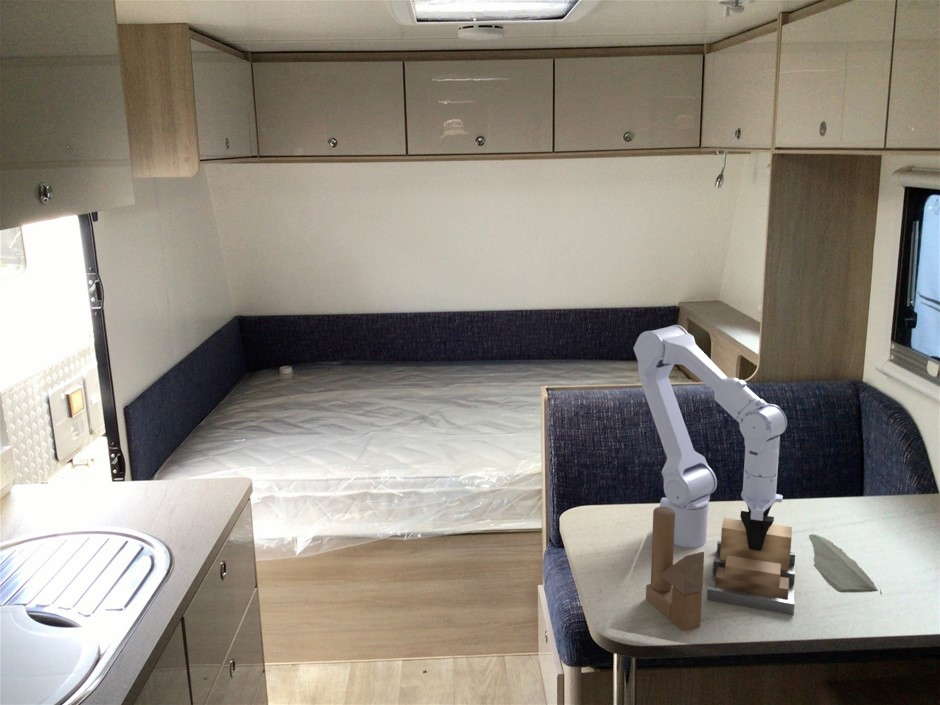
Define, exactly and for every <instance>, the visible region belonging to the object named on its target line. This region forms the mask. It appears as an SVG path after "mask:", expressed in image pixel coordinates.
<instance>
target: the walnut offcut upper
mask: <svg viewBox="0 0 940 705" xmlns="http://www.w3.org/2000/svg"><path fill="white" fill-rule="evenodd" d="M780 569H781V564H779V563H773V562H766V561H760V560H753V559H747V558H741V557H734V556H728V555H727V559H726V565H725V579H730V580H736V581H742V582H747V583H753V584H759V585H765V586H771V587H777V588H779V584H780Z"/></svg>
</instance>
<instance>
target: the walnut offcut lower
mask: <svg viewBox="0 0 940 705" xmlns="http://www.w3.org/2000/svg"><path fill="white" fill-rule="evenodd" d="M715 588H721V589H726V590H732V591H738V592H744V593H750V594H756V595H761V596H767V597H773V598H779V599H785V600H788V591H789V578H785V577H780V584H779V588H777V587H771V586H765V585H759V584H753V583H747V582H742V581H736V580H730V579H725V568H723V567H718V568H717V573H716V580H715Z"/></svg>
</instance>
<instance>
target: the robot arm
mask: <svg viewBox="0 0 940 705" xmlns="http://www.w3.org/2000/svg"><path fill="white" fill-rule="evenodd" d="M633 352H634V354H635V357H636V360H637V369H638V370H637V371H638V378H639V381H640V384H641V386H642V390H643V392H644V395H645V398H646V401H647V403H648V406H649V410H650V412H651V416H652V418H653V421H654V424H655V427H656V430H657V433H658V435H659V436H658V437H659V439H660V441H661V444H662V447H663V450H664V454H665V456H666V461H665V464H664V466H663V468H662V470H661V475H662V478H663V491H664V495H665V497H661V499H660V502H659V507H668V508H671V509H673V510H674V512H675V529H674V546H675V545H676V546H679V547H682V548H690V549H691V548H692V549H693V548H700V547H703V546H704V545H705V544H707V535H708V533H707V532H708V512H709V501H710V500H711V494H713V493H714V492H715V491H716V489H717V487H718V480H717V476H716V473H715V471H713V469H712V468H711V467H710V466H709V465H708V462H707V460H706V457H705V456H704V455H702V454H700V453H699V452H697V451H695V448H694V446H693V443H692V441H691V438H690V435H689V431H688V429H687V427H686V424H685V421H684V418H683V415H682V412H681V409H680V406H679V403H678V400H677V398H676V395H675V392H674V389H673V387H672V384H671V380H670V378H669V377H670V374H671V371H672V369H673V367H674V366H675V365H680V366H681V365H682V366H684V367H685V368H686V369H687V370H689V371H690V372H691V373H692V374H694V375H695V376H696V377H697V378H698V379H700V380H701V381H702V382H703V383H704V384H706V385H707V386H708V387H709V388H710V389H712V390H713V393H714V394H713V395H714V396H713V397H714V401H715V402H716V403H718V404H719V406H721V407H722V408H723V409H724V410H725V411H726V412H727V413H728V414H729V415H730V416H731V417H732V418H733V419H734V420H736V422H737V423H739V431H740V433H741V435H742V437H743V438H744V446H745V448H744V465H743V466H744V467H743V481H742V482H743V484H742V485H743V486H742V491H741V498H742V500H743V501H744V503H745V504H746V506H747V510H748V511H747V510H746V511H745V510H741V511H740V520H742V522H743V524H744V526H745V529H746V534H747V541H748V547H749V549H750V550H756V551H761V550H762V547H763V544H764V540H765V537H766V534H767V531H768V529H769V528H770V526H771V525H772V524H773V523H774V521H775V516H770V515H769V513H770V510H771V508H772V506H773V505H775V503H782V502H783V497H784V496H783V495H782V494H778V493H777V484H778V473H779V472H778V469H779V456H780V443H781V442H780V441H781V436H780V435H782V434H783V433H784V432H785V431H786V429H787V427H788V419H787V416H786V414H785V412H784V410H782V409H781V407H780V406H779V405H776V404H773V403H767V402H766V401H765V400H764V399H763V398H760V397H759V396H757V395H756V394H755V393H754V392H753V391H752V390H751V389H750V388H749V387H748V386H747V384H748V383H747V382H746V381H745V380H743V379H739V378H737V377H728V376H727V375H726V374H725V373H723V371H722V370H721V369H720V368H719V367H718V366H717V365H716V364H715V363H714V362H713V361H712V360H711V359H710V357H708V355H707V354H706V353H704V351H703V350H702V349H701V348H700V347H699V346H698V345H697V343H696V341H695V337H694V335H693V334H690V333H689V332H687V330H686V328H684V327H683V326H681V325H679V324H673V325H670V326H666V327H663V328H658V329H655V330H647V331H643V332H642V333H640V334H639V336H638V337H637V339H636V342H635V344H634V345H633Z"/></svg>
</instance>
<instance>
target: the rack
mask: <svg viewBox="0 0 940 705" xmlns="http://www.w3.org/2000/svg"><path fill="white" fill-rule="evenodd" d="M716 545H717V547H716V554H715V558H713V562H712V563H713V564H712V565H713V566H712V573H711V579H710V583H709V585H708V586H707V590H706V592H707V593H706V601H712V602H717V603H722V604H729V605H734V606H739V607H746V608H752V609H756V610H763V611H768V612H774V613H780V614H784V615H790V616H794V615H795V614H794V613H795V602H796V601H795V580H796V579H795V578H796V577H795V576H796V571H795V566H796V565H795V564H796V562H795V561H796V552H793V551H790V563H789V571H788V570H782V569H780V577H785V578H789V591H788V600H785V599H779V598H773V597H767V596H761V595H756V594H750V593H744V592H738V591H732V590H726V589H721V588H715V580H716V573H717V568H718V567H723V568H725V565H726V561H725V560H720V550H721V540H720V541H719V540H717V544H716Z"/></svg>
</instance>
